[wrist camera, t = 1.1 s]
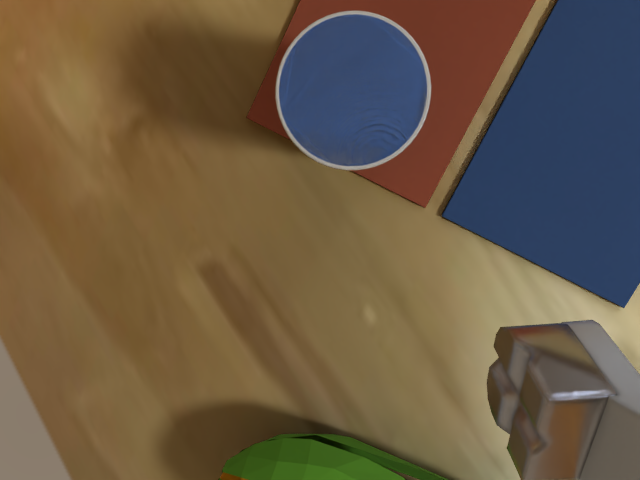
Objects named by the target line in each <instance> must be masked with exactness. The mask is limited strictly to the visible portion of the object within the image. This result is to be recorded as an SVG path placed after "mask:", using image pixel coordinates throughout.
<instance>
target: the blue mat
mask: <svg viewBox="0 0 640 480" xmlns="http://www.w3.org/2000/svg"><path fill="white" fill-rule="evenodd" d="M442 217H444V218H446V219H448V220H450V221H452V222H454V223H456V224H458V225H460V226H462V227H464V228H466V229H468V230H470V231H472V232H474V233H476V234H478V235H480V236H482V237H484V238H486V239H488V240H490V241H492V242H494V243H496V244H498V245H500V246H502V247H504V248H506V249H508V250H510V251H512V252H514V253H516V254H518V255H520V256H522V257H524V258H526V259H527V260H529V261H531V262H533V263H535V264H537V265H539V266H541V267H543V268H545V269H547V270H549V271H551V272H553V273H555V274H557V275H559V276H561V277H563V278H565V279H567V280H569V281H571V282H573V283H575V284H577V285H579V286H581V287H583V288H585V289H587V290H589V291H591V292H593V293H595V294H597V295H599V296H601V297H603V298H605V299H607V300H609V301H611V302H613V303H615V304H617V305H619V306H621V307H623V308H624V307H625V306H626V304H627V302H628V301H629V299H630V298H631V296H632V294H633V293H634V291H635V290H636V288H637V286H638V285H639V283H640V0H557V2H556V4H555V5H554V7H553V9H552V11H551V13H550V15H549V17H548V18H547V20H546V22H545V24H544V26H543V28H542V30H541V31H540V33H539V35H538V37H537V39H536V41H535V43H534V44H533V46H532V48H531V50H530V52H529V54H528V56H527V57H526V59H525V61H524V63H523V65H522V67H521V69H520V70H519V72H518V74H517V76H516V78H515V80H514V82H513V83H512V85H511V87H510V89H509V91H508V93H507V95H506V96H505V98H504V100H503V102H502V104H501V106H500V108H499V109H498V111H497V113H496V115H495V117H494V119H493V121H492V122H491V124H490V126H489V128H488V130H487V132H486V134H485V135H484V137H483V139H482V141H481V143H480V145H479V147H478V148H477V150H476V152H475V154H474V156H473V158H472V160H471V161H470V163H469V165H468V167H467V169H466V171H465V173H464V174H463V176H462V178H461V180H460V182H459V184H458V186H457V187H456V189H455V191H454V193H453V195H452V197H451V199H450V200H449V202H448V204H447V206H446V208H445V210H444V212H443V213H442Z"/></svg>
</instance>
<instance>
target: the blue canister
mask: <svg viewBox="0 0 640 480" xmlns="http://www.w3.org/2000/svg"><path fill="white" fill-rule="evenodd" d="M275 99H276V106H277V111H278V114H279V118H280V120H281V123H282V125H283V128H284V129H285V131H286V133H287V135H288V136H289V138H290V139H291V140H292V142H293V143H294V144H295V145H296V146H297V147H298V148H299V149H300V150H301V151H302V152H303V153H304V154H306V155H307V156H308V157H309V158H311V159H313V160H315V161H316V162H318V163H320V164H323V165H325V166H328V167H331V168H335V169H341V170H363V169H368V168H372V167H376V166H379V165H381V164H383V163H386V162H388V161H389V160H391V159H393V158H395V157H396V156H397V155H399V154H400V153H401V152H403V151H404V150H405V149H406V148H407V147H408V146H409V145H410V144H411V142H412V141H413V140H414V139H415V137H416V136H417V134H418V133H419V131H420V129H421V128H422V126H423V124H424V121H425V119H426V117H427V113H428V110H429V106H430V99H431V78H430V72H429V68H428V64H427V62H426V59H425V57H424V54H423V52H422V51H421V49H420V47H419V45H418V44H417V43H416V41H415V40H414V38H413V37H412V36H411V35H410V34H409V33H408V32H407V31H406V30H405V29H404V28H402V27H401V26H400V25H399V24H397V23H396V22H394V21H392V20H390V19H389V18H386V17H384V16H382V15H379V14H376V13H372V12H367V11H359V10H357V11H343V12H337V13H334V14H330V15H327V16H325V17H323V18H321V19H318V20H317V21H315V22H313V23H312V24H310V25H309V26H308V27H306V28H305V29H304V30H303V31H302V32H300V34H299V35H298V36H297V37H296V38H295V39H294V40H293V41H292V43H291V44H290V46H289V47H288V49H287V50H286V52H285V54H284V56H283V58H282V61H281V63H280V66H279V69H278V73H277V77H276V86H275Z"/></svg>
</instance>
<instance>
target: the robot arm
mask: <svg viewBox="0 0 640 480" xmlns="http://www.w3.org/2000/svg"><path fill="white" fill-rule="evenodd" d="M494 348H495V350H496V352H497V354H498V356H499V358H498V359H497V360H496V361H495V362H494V363H493V364H492V365H491V366H490V367H489V373H488V379H487V392H488V401H489V405H490V409H491V412H492V415H493V417H494V419H495V422H496V424H497V426H499V427H500V428H502V429H503V430H504V431H506V432H507V433H508V434H510V438H509V442H508V446H507V449H508V451H509V454H510V456H511V458H512V460H513V462H514V465H515V467H516V469H517V471H518V473H519V476H520V478H521V480H640V374H639V373H638V372H637V371H636V369H635V368H634V367H633V366H632V364H631V363H630V362H629V360H628V359H627V358H626V357H625V355H624V354H623V353H622V352H621V350H620V349H619V348H618V347H617V345H616V344H615V343H614V341H613V340H612V339H611V338H610V336H609V335H608V334H607V333H606V331H605V330H604V329H603V328H602V326H601V325H600V324H599V323H597V322H595V321H593V320H586V321H573V322H562V323H561V324H560V323H555V324H540V325H525V326H511V327H500V329H499V331H498V332H497V334H496V338H495V342H494Z"/></svg>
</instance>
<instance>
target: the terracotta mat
mask: <svg viewBox="0 0 640 480" xmlns="http://www.w3.org/2000/svg"><path fill="white" fill-rule="evenodd" d="M535 1H536V0H300V2H299V4H298V7H297V9H296V11H295V13H294V15H293V17H292V20H291V22H290V24H289V26H288V28H287V30H286V33H285V35H284V37H283V39H282V41H281V43H280V46H279V48H278V50H277V52H276V54H275V57H274V59H273V61H272V63H271V65H270V67H269V70H268V72H267V74H266V76H265V78H264V80H263V83H262V85H261V87H260V89H259V91H258V93H257V96H256V98H255V100H254V102H253V104H252V106H251V109H250V111H249V113H248V115H247V118H248V119H250V120H252V121H254V122H256V123H258V124H260V125H262V126H264V127H266V128H268V129H270V130H272V131H274V132H276V133H278V134H280V135H282V136H284V137H286V138H288V139H290V138H289V136H288V135H287V133H286V131H285V129H284V128H283V125H282V123H281V120H280V118H279V114H278V111H277V106H276V99H275V86H276V77H277V73H278V69H279V66H280V63H281V61H282V58H283V56H284V54H285V52H286V50H287V49H288V47H289V46H290V44H291V43H292V41H293V40H294V39H295V38H296V37H297V36H298V35H299V34H300V32H302V31H303V30H304V29H305V28H306V27H308V26H309V25H310V24H312V23H313V22H315V21H317V20H318V19H321V18H323V17H325V16H327V15H330V14H334V13H337V12H343V11H357V10H359V11H367V12H372V13H376V14H379V15H382V16H384V17H386V18H389V19H390V20H392V21H394V22H396V23H397V24H399V25H400V26H401V27H402V28H404V29H405V30H406V31H407V32H408V33H409V34H410V35H411V36H412V37H413V38H414V40H415V41H416V43H417V44H418V45H419V47H420V49H421V51H422V52H423V54H424V57H425V59H426V62H427V64H428V68H429V72H430V78H431V99H430V106H429V110H428V113H427V117H426V119H425V121H424V124H423V126H422V128H421V129H420V131H419V133H418V134H417V136H416V137H415V139H414V140H413V141H412V142H411V144H410V145H409V146H408V147H407V148H406V149H405V150H404V151H403V152H401V153H400V154H399V155H397V156H396V157H395V158H393V159H391V160H389V161H388V162H386V163H383V164H381V165H379V166H376V167H372V168H368V169H363V170H351V171H353V172H355V173H357V174H359V175H361V176H363V177H365V178H367V179H369V180H371V181H373V182H375V183H377V184H379V185H381V186H383V187H385V188H387V189H389V190H391V191H393V192H395V193H397V194H399V195H401V196H403V197H405V198H407V199H409V200H411V201H413V202H414V203H416V204H418V205H420V206H422V207H424V208H425V207H426V206H427V204H428V202H429V200H430V198H431V196H432V194H433V192H434V191H435V189H436V187H437V185H438V183H439V181H440V179H441V177H442V175H443V174H444V172H445V170H446V168H447V166H448V164H449V162H450V160H451V159H452V157H453V155H454V153H455V151H456V149H457V147H458V145H459V144H460V142H461V140H462V138H463V136H464V134H465V132H466V130H467V128H468V127H469V125H470V123H471V121H472V119H473V117H474V115H475V113H476V112H477V110H478V108H479V106H480V104H481V102H482V100H483V98H484V97H485V95H486V93H487V91H488V89H489V87H490V85H491V83H492V81H493V80H494V78H495V76H496V74H497V72H498V70H499V68H500V66H501V65H502V63H503V61H504V59H505V57H506V55H507V53H508V51H509V50H510V48H511V46H512V44H513V42H514V40H515V38H516V36H517V34H518V33H519V31H520V29H521V27H522V25H523V23H524V21H525V19H526V18H527V16H528V14H529V12H530V10H531V8H532V6H533V4H534V3H535ZM290 140H291V139H290Z"/></svg>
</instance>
